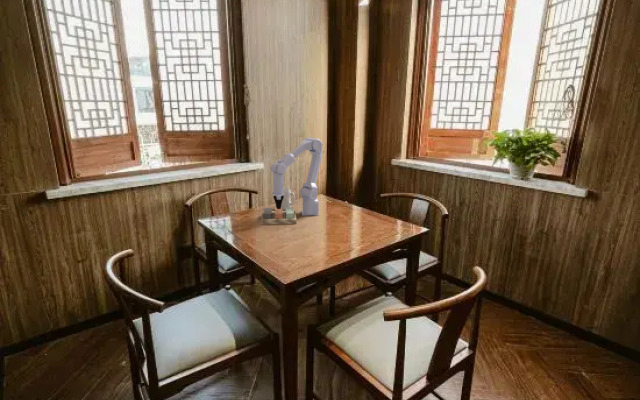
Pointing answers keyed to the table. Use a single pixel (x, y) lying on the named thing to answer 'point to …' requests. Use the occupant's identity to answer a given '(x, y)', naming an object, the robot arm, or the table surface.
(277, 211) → the key terracotta
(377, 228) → the table surface
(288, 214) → the key celadon
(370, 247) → the table surface
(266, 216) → the key charcoal
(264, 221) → the board
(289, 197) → the mug
